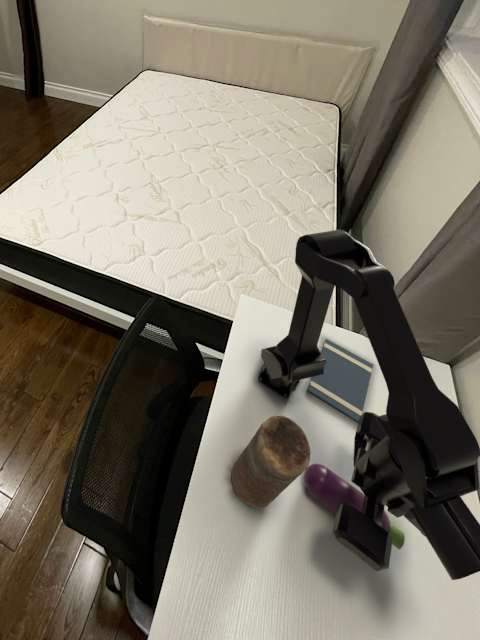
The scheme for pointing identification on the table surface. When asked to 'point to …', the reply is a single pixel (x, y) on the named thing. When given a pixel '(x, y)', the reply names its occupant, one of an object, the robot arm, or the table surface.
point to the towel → (342, 380)
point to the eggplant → (342, 496)
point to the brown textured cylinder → (270, 461)
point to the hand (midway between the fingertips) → (350, 495)
